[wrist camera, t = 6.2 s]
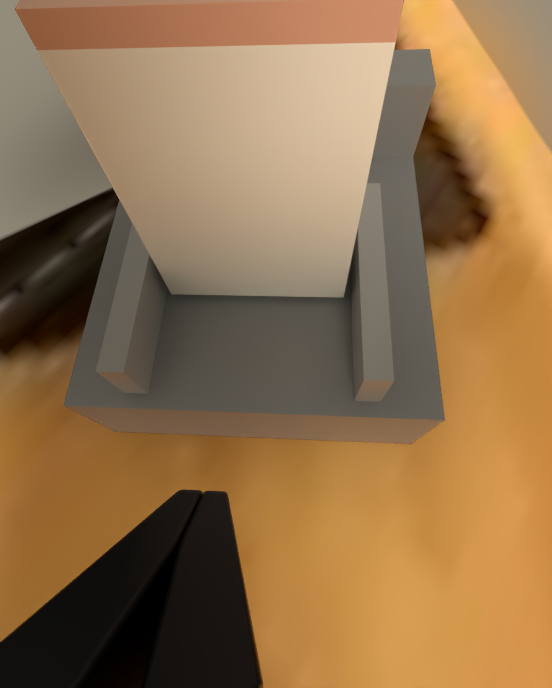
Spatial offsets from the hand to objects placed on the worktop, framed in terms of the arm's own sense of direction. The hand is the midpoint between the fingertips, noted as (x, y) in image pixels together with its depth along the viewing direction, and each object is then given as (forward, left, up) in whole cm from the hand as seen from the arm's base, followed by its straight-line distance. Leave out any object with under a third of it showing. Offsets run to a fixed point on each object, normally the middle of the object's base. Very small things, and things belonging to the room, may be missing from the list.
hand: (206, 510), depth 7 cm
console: (+9, +3, -9) cm, 13 cm away
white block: (+9, +3, -4) cm, 10 cm away
